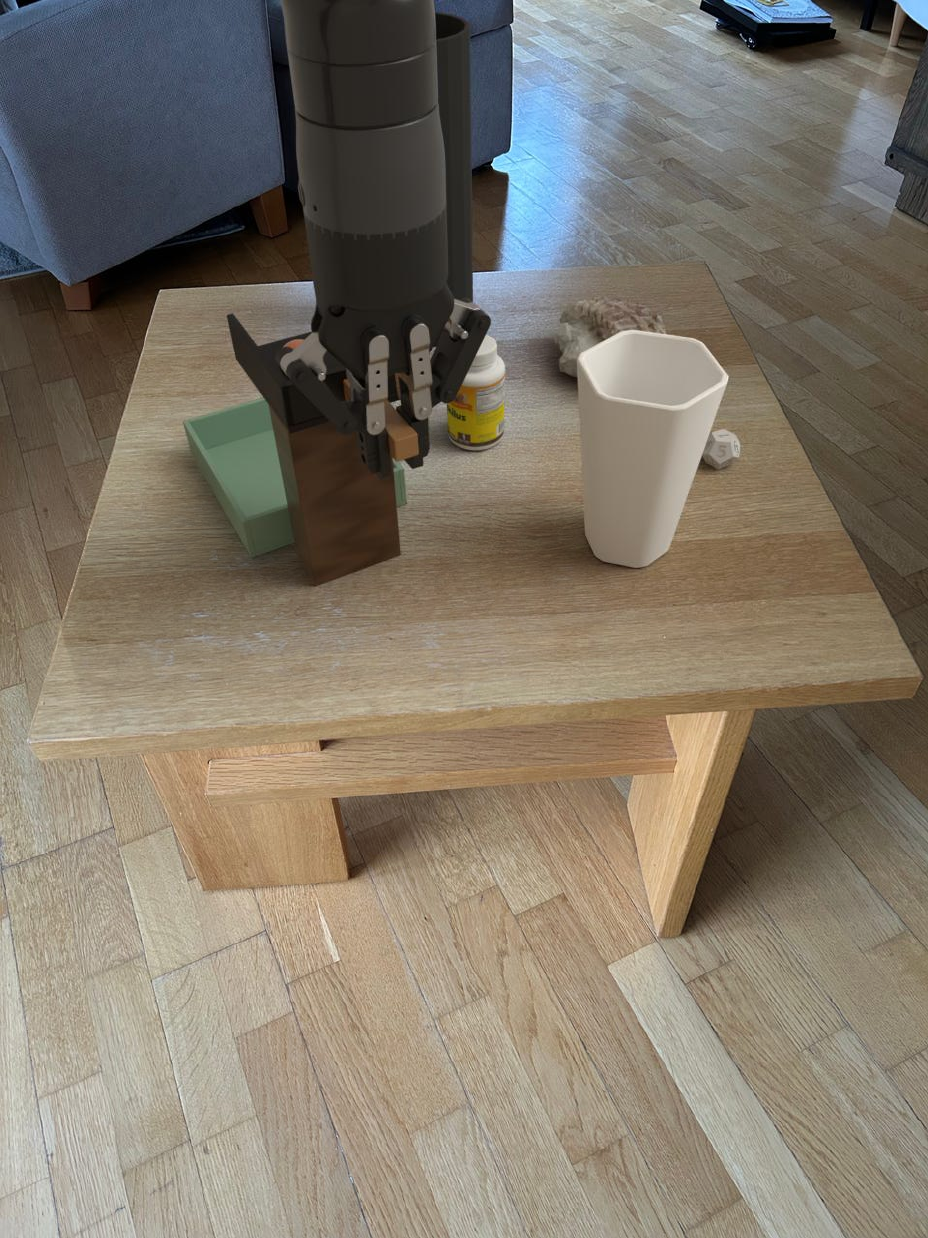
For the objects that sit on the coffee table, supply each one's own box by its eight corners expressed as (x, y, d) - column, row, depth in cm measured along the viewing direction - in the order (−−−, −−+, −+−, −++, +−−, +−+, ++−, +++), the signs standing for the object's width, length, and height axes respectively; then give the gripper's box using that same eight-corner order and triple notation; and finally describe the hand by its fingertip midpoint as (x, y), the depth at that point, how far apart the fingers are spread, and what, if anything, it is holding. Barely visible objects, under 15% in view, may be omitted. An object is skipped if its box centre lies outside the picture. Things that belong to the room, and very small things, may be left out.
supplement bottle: (439, 428, 95) (435, 335, 88) (490, 415, 97) (490, 322, 89) (460, 459, 92) (458, 364, 84) (513, 445, 93) (515, 351, 86)
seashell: (526, 323, 104) (582, 245, 98) (586, 345, 110) (642, 273, 104) (581, 413, 96) (645, 335, 90) (641, 431, 102) (705, 359, 96)
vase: (373, 341, 107) (344, 39, 86) (398, 298, 114) (377, 8, 92) (461, 351, 105) (455, 45, 84) (482, 307, 112) (481, 13, 91)
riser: (315, 586, 80) (282, 402, 67) (297, 558, 82) (262, 375, 69) (401, 554, 82) (385, 371, 69) (381, 528, 85) (363, 347, 72)
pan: (336, 500, 59) (329, 452, 56) (235, 359, 71) (226, 314, 68) (477, 452, 62) (477, 404, 60) (358, 325, 74) (354, 281, 71)
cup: (699, 516, 85) (736, 343, 73) (682, 592, 78) (719, 416, 66) (577, 493, 88) (592, 323, 75) (550, 565, 81) (562, 391, 69)
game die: (742, 471, 90) (749, 445, 87) (704, 474, 89) (709, 448, 87) (730, 449, 92) (736, 423, 90) (693, 452, 92) (698, 426, 90)
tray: (251, 558, 82) (242, 522, 79) (191, 455, 93) (182, 420, 90) (407, 503, 87) (404, 468, 84) (334, 411, 98) (329, 377, 95)
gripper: (276, 255, 45) (321, 533, 58) (523, 195, 50) (516, 465, 62) (225, 199, 50) (276, 467, 62) (456, 149, 54) (461, 409, 67)
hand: (396, 465), depth 62 cm, fingers closed on pan
